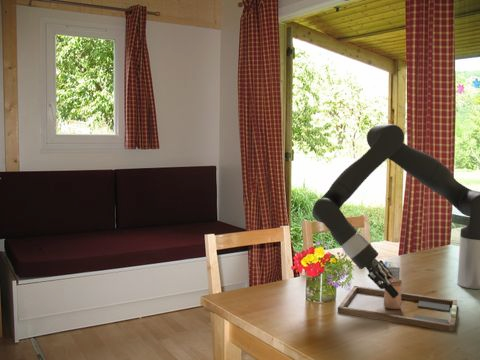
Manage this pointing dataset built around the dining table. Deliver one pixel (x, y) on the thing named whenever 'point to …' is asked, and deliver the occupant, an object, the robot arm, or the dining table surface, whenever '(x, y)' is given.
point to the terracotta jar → (395, 302)
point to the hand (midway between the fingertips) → (397, 293)
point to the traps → (435, 307)
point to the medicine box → (393, 268)
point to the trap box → (396, 318)
